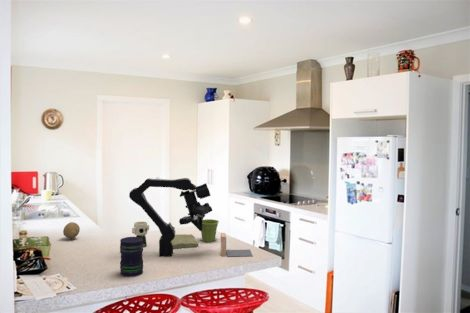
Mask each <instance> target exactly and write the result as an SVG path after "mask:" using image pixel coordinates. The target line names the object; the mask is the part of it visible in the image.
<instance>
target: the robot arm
mask: <svg viewBox="0 0 470 313" xmlns="http://www.w3.org/2000/svg"><path fill="white" fill-rule="evenodd" d="M151 187H153V188H173V189H177V190H180V191H181V192H180V194H179V197H181V198H182V197H183V198H184V201H185V204H186V205H185V208H186V209H187V210H188V213H187V215H185V216H183V217H181V218H179V220H178V222H179V225H188V224H190V223H191V224H193V225H194V226H195V227H196V229H197V230H198V231H199V232H201V231H202V222H203V220H204V219H205V218H204V217H206V215H207V214H209V213H211V212H212V211H213V208H212V206H210V203H209V202H206V203H203V204H201V203H200V201H198V199H200V200H202V199H205V198H207V197H211V192H210V190H209V187H208V185H207V182H206V183H203V184H200V185H198V186H197V185H196V184H193V183H192V180H191V179H190V178H187V177H184V178H183V177H182V178H176V179H161V178H150V177H149V178H146V179H145V180H144V182H143V183H141V185H139V186H138V187H135V188H133V189H131V190H130V191H129V195H128V197H129V199H130V200H131V201H132V202H133V203H135V204H136V205H137V206H140V208H141V209H142V210H143V211H144V212H145V214H146V215H147V216H148V217H149V219H151V221H152V222H153V223H154V224H155V225H156V227H157V228H158V230H159V232H160V234H161V235H160V237H159V240H158V250H159V252H158V256H159V257H172V256H173V254H174V249H173V245H172V242H171V241H172V240H173V239H174V237H175V235H176V230H175V228H176V227H174V226H173V225H172V223H171V221H170V222H168V223H167V222H166V221H165V220H164V219H163V218H162V217H161V216H160V214H158V212H157V211H156V210H155V209H154V208H153V206H152V205H151V204H150V202H149V201H148V200H147V198H146V195H145V192H146V191H147V190H148V189H149V188H151ZM197 198H198V199H197Z"/></svg>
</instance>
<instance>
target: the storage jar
mask: <svg viewBox="0 0 470 313" xmlns="http://www.w3.org/2000/svg"><path fill="white" fill-rule="evenodd" d="M119 242H120V244H119V245H120V246H119V253H120V263H119V270H120V275H121V277H126V278H133V277H138V276H141V275H142V274H143V273H144V260H143V252H144V246H143V238H141V237H136V236H127V237H123V238H121V239H120V240H119Z"/></svg>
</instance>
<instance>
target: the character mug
mask: <svg viewBox="0 0 470 313" xmlns="http://www.w3.org/2000/svg"><path fill="white" fill-rule="evenodd" d="M149 230H150V225H149V224H148V222H147V221H135V222H134V223H133V227H132V228H131V233H132V234H134V235H135V237H141V238H143V247H146V246H147V244H148V243H147V237H146V235H147V234H148V232H149Z"/></svg>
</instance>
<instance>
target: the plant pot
mask: <svg viewBox="0 0 470 313" xmlns="http://www.w3.org/2000/svg"><path fill="white" fill-rule="evenodd" d="M219 222H220V221H219V220H217V219H211V218H210V219H207V218H206V219H205V218H204V219H203V222H202V231H200V232H201V233H200V234H201V240H202V242H206V243H212V242H214V241H216V235H217V234H216V233H217V228H218V226H219V225H218V224H219Z"/></svg>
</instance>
